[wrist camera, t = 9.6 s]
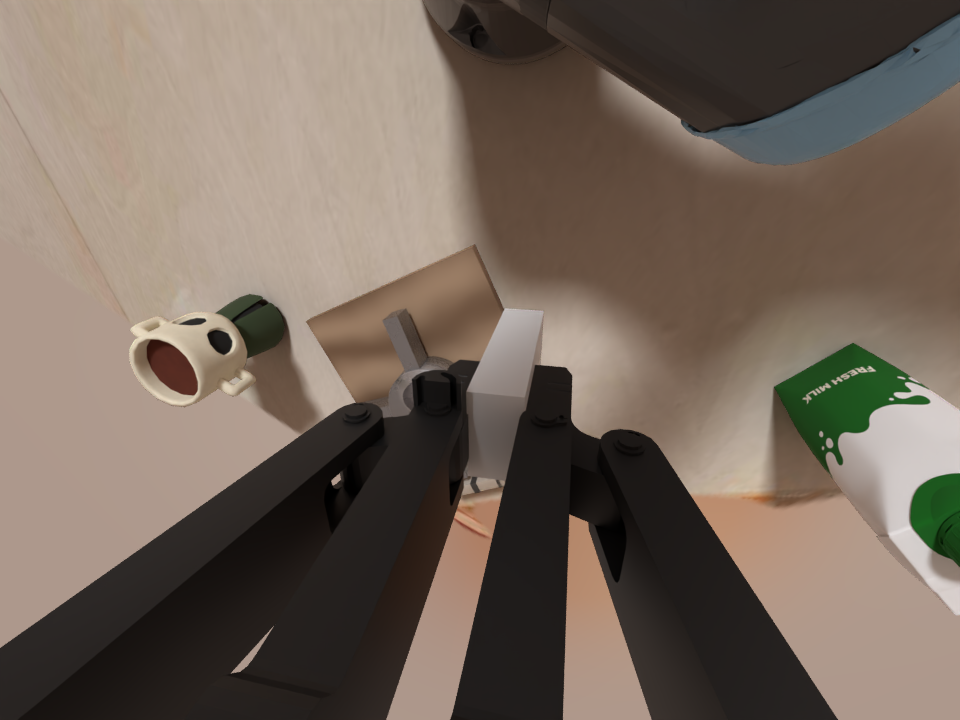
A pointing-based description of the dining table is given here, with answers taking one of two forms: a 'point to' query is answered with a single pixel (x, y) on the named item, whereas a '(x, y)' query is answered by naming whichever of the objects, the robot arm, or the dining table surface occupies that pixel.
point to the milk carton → (887, 457)
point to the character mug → (203, 350)
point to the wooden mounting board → (436, 318)
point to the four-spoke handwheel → (407, 365)
